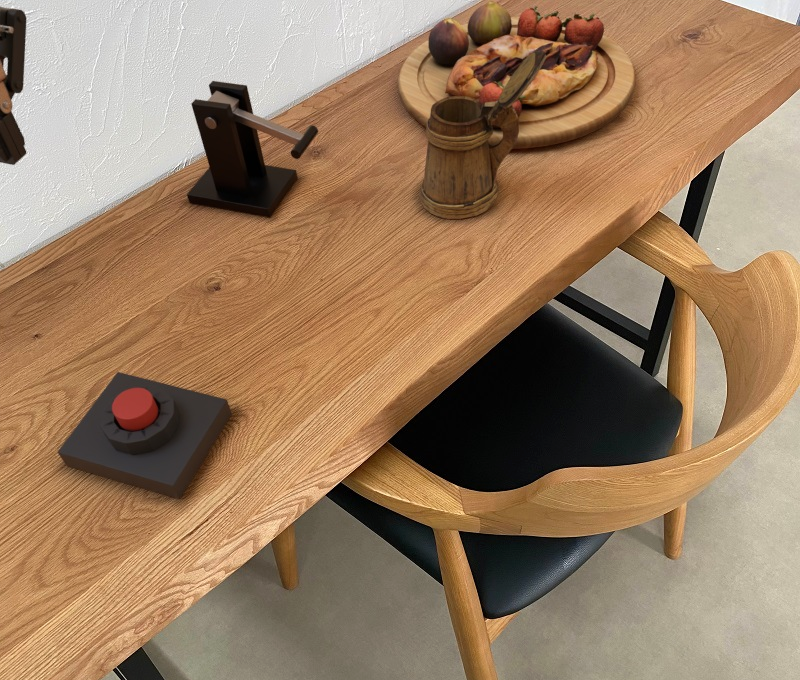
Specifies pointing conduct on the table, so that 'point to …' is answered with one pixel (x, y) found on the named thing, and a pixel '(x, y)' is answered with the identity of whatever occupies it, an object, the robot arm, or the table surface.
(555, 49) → the wooden plate
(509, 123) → the wooden mug
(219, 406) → the button box
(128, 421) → the button
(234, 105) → the lever
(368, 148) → the table surface
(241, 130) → the bracket
